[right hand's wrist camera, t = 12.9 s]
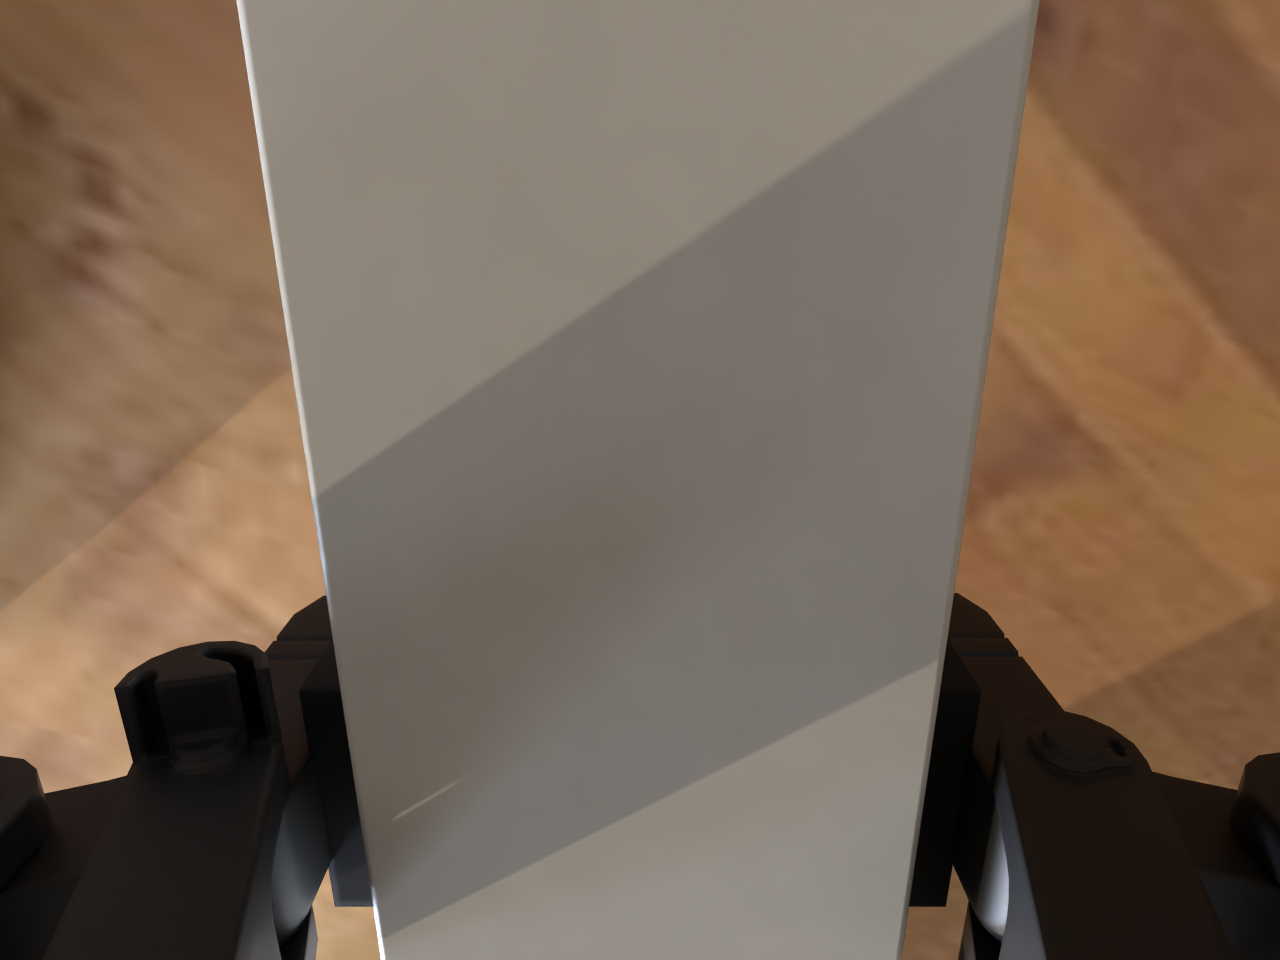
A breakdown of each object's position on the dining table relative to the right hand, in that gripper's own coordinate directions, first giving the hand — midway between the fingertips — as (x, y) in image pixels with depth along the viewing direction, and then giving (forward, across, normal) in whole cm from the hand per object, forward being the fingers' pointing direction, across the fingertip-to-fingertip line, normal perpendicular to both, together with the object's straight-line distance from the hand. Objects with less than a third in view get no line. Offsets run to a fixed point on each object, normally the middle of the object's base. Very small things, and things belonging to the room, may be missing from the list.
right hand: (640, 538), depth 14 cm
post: (+1, 0, -20) cm, 20 cm away
